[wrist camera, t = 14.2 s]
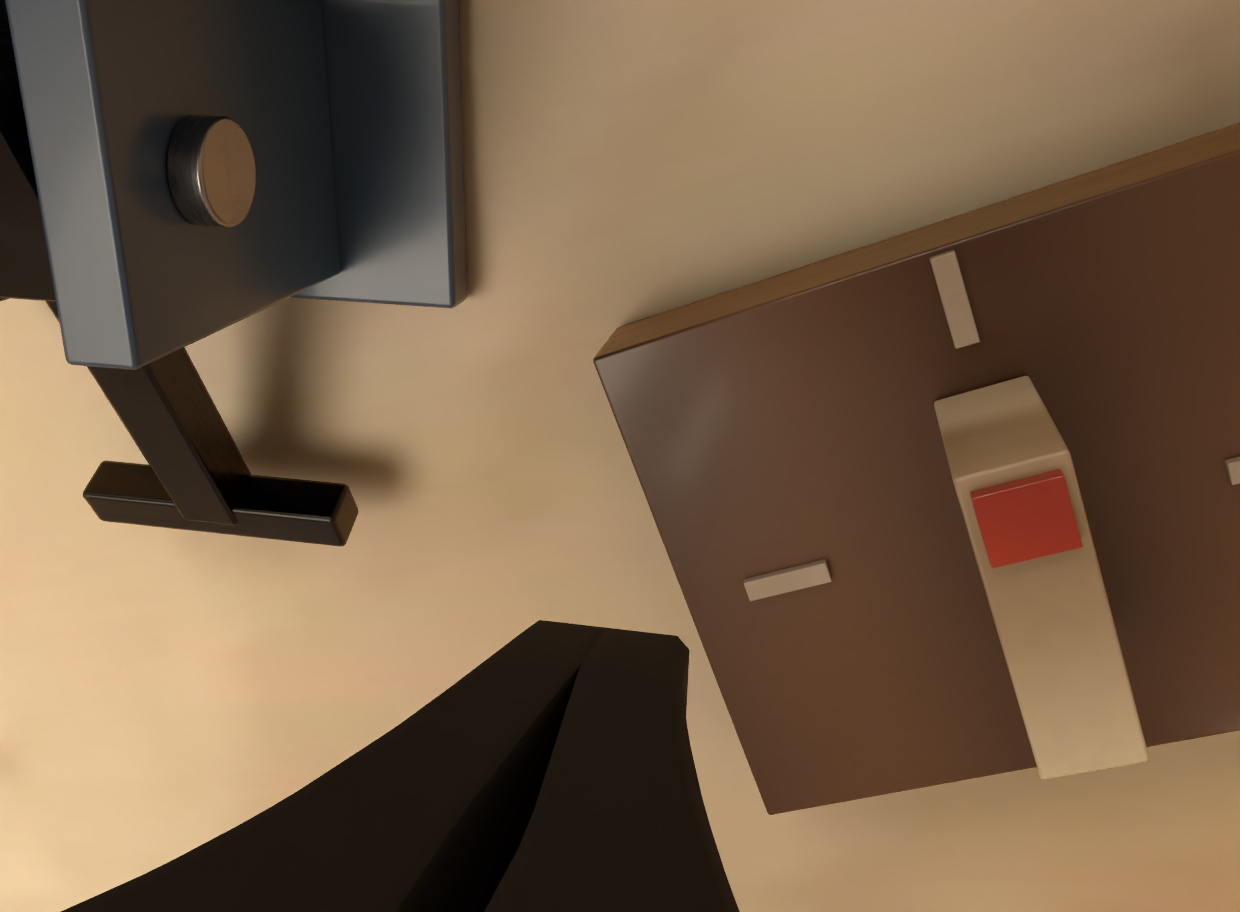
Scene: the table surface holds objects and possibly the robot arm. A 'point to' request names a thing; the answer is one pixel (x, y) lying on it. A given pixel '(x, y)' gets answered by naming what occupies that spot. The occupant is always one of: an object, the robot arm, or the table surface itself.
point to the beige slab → (1041, 578)
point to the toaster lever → (156, 398)
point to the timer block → (921, 478)
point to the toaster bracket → (239, 161)
